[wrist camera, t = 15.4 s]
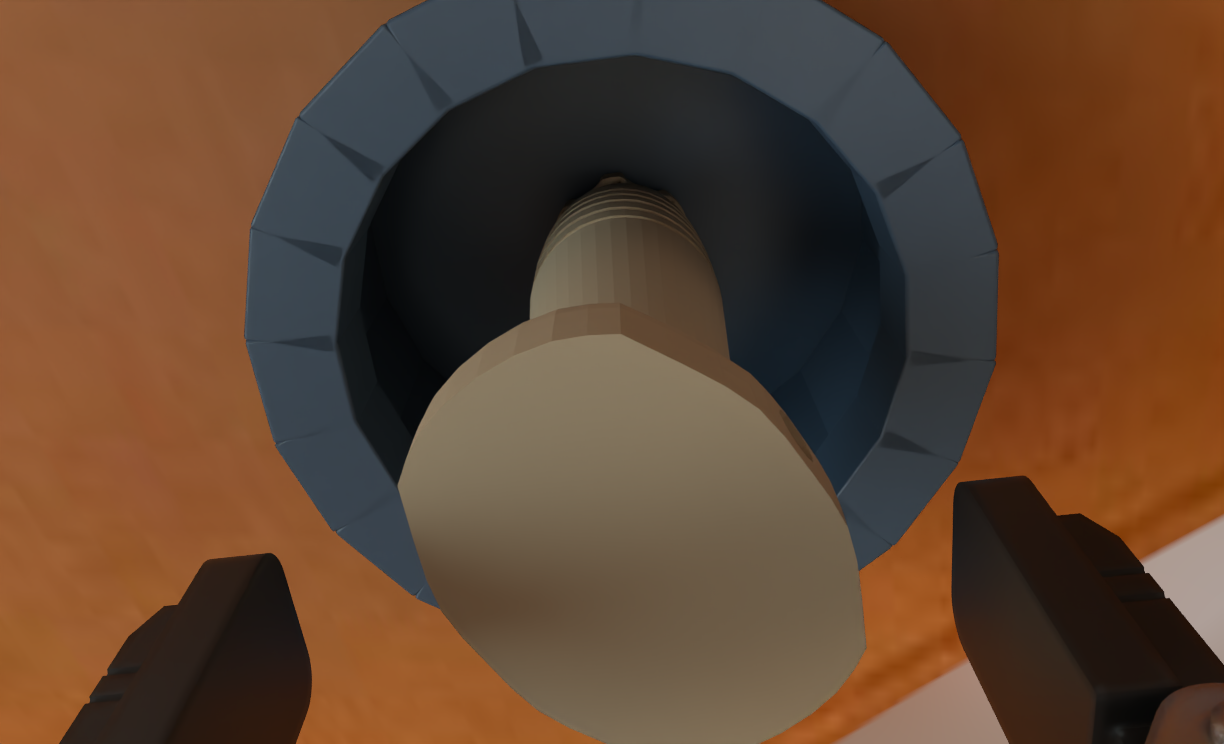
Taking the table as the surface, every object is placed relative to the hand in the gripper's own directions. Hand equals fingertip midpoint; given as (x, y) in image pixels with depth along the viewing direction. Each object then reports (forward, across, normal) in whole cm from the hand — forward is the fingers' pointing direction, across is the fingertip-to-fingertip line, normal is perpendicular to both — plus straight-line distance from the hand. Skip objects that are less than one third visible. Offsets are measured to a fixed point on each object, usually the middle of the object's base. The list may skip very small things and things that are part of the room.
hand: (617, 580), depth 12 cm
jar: (+16, 0, 0) cm, 16 cm away
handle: (+16, 0, 0) cm, 16 cm away
